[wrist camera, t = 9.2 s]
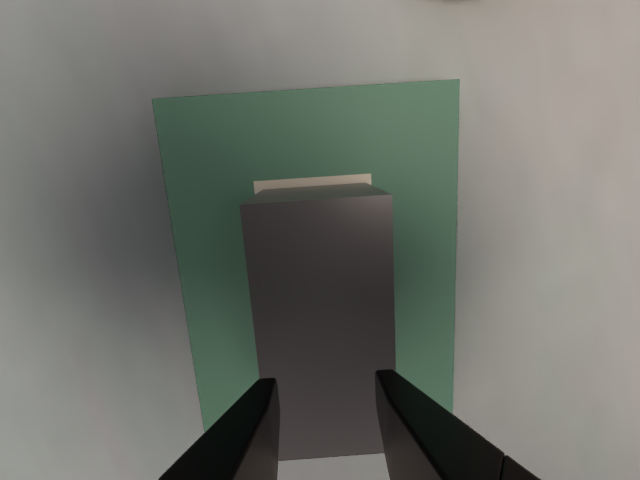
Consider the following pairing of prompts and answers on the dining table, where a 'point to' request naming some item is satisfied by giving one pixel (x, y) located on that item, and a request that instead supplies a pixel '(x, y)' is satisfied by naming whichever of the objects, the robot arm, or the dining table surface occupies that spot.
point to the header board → (300, 171)
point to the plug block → (322, 311)
